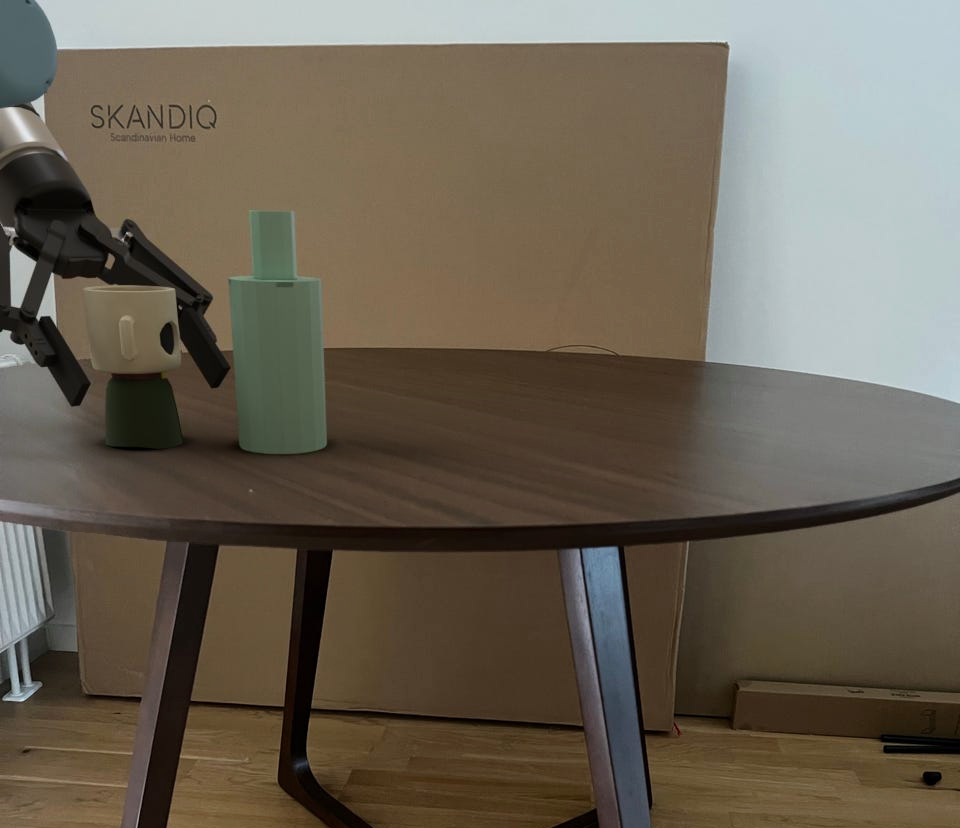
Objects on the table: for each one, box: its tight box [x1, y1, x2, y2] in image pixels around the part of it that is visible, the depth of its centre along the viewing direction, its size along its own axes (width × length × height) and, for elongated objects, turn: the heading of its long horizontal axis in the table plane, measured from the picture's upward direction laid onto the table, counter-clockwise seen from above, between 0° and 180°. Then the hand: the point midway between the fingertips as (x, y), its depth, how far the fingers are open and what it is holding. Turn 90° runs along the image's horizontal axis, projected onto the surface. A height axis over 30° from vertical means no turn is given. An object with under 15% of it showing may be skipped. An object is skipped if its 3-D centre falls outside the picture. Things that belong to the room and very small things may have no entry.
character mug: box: [82, 284, 184, 450], centre depth 85 cm, size 11×7×13 cm, turn 12°
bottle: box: [227, 209, 328, 455], centre depth 84 cm, size 7×7×19 cm
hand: (155, 386), depth 84 cm, fingers open, 13 cm apart
